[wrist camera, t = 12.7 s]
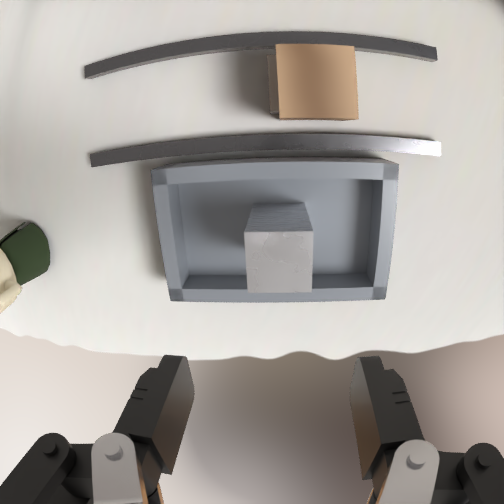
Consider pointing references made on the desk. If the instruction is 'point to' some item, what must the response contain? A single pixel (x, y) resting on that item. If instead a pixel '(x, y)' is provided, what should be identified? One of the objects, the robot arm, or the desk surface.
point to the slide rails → (263, 140)
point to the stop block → (279, 248)
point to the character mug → (21, 261)
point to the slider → (313, 82)
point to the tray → (276, 191)
